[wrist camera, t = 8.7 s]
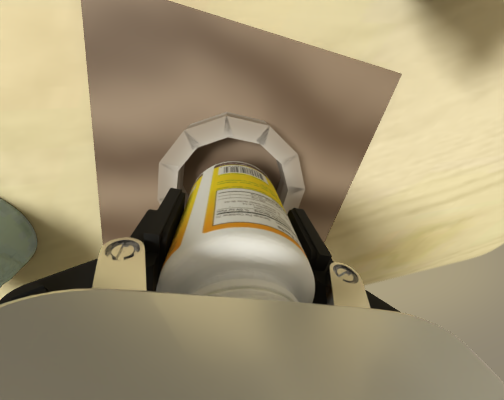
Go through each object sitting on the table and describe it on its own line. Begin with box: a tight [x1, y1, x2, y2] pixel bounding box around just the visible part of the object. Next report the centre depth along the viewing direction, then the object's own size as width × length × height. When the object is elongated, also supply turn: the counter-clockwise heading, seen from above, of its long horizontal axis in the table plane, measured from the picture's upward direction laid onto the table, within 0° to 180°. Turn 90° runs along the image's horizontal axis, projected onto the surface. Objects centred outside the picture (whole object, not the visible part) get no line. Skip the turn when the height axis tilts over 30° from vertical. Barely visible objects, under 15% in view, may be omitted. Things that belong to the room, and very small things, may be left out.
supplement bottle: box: [156, 161, 315, 303], centre depth 10 cm, size 6×6×10 cm
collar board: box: [81, 0, 402, 245], centre depth 17 cm, size 20×20×4 cm
